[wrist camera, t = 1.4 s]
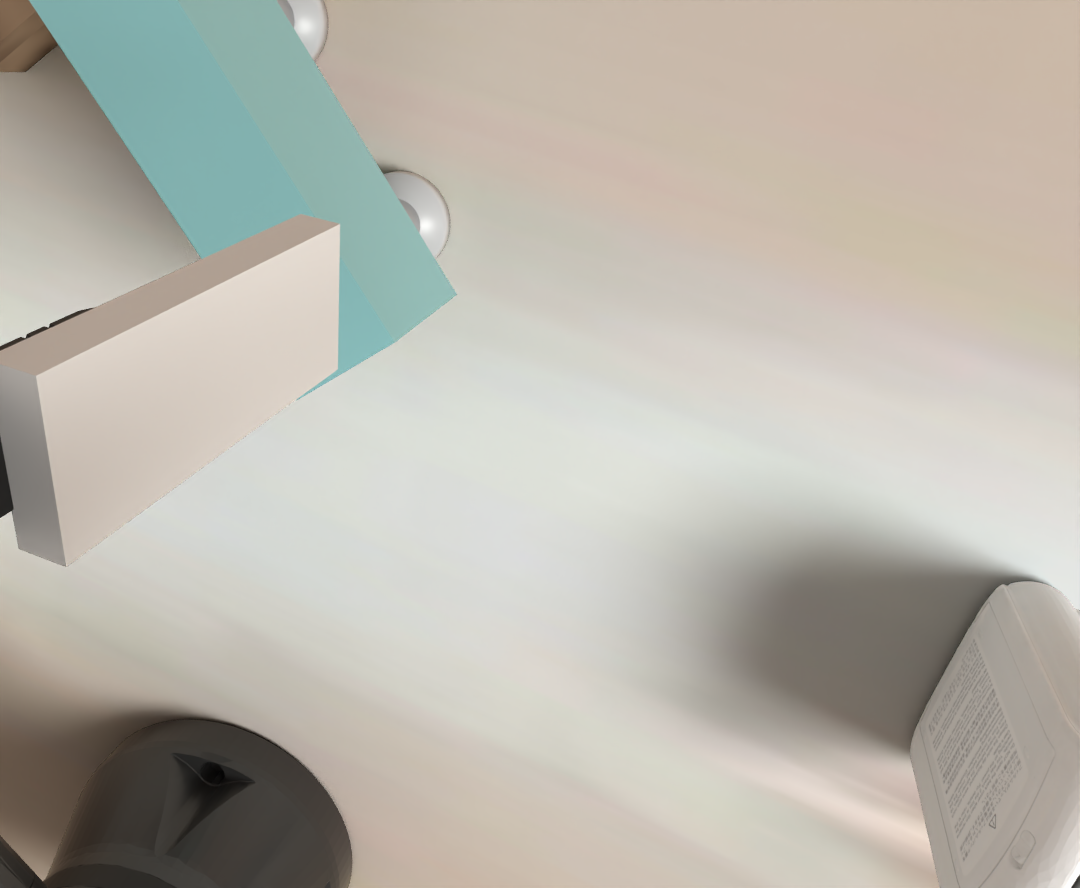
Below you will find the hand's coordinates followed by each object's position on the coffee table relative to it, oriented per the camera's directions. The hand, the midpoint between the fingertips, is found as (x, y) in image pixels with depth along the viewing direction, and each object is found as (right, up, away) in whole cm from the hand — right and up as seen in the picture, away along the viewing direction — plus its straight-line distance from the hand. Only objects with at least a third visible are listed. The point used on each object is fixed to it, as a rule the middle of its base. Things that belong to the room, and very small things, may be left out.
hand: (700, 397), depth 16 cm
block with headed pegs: (-10, +12, +25) cm, 29 cm away
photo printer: (+17, -11, +28) cm, 34 cm away
